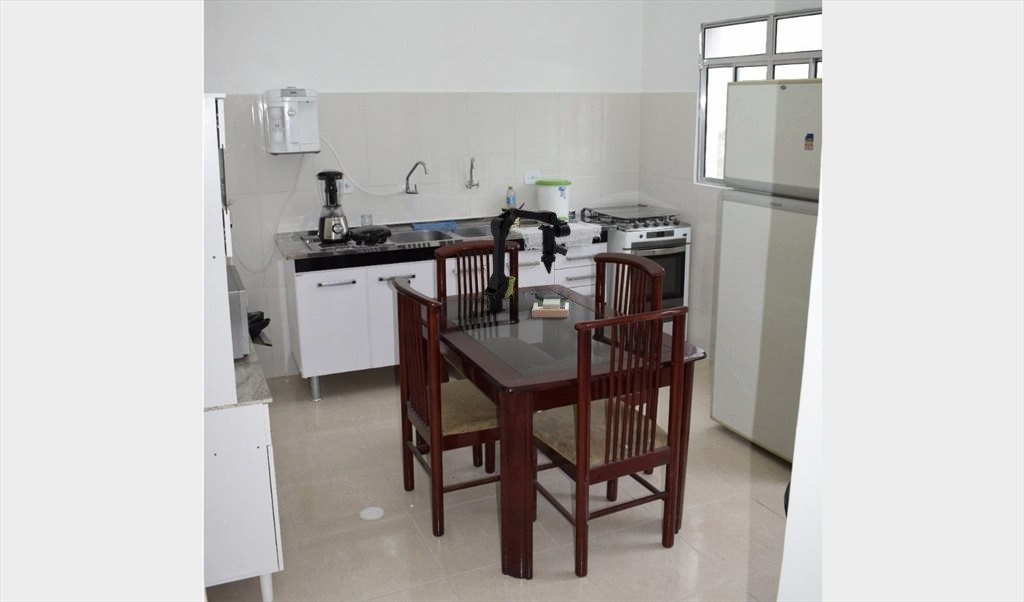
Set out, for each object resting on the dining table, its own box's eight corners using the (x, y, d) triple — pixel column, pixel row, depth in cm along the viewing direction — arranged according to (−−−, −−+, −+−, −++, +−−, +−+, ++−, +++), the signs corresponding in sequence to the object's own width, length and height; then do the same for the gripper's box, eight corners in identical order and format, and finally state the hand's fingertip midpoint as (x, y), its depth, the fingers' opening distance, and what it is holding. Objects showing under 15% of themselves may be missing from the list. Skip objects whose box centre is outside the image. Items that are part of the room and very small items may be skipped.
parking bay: (534, 307, 343) (534, 300, 342) (568, 307, 341) (568, 300, 341) (532, 317, 328) (531, 310, 327) (568, 317, 327) (567, 310, 326)
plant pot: (515, 299, 357) (515, 280, 354) (494, 299, 357) (494, 281, 355) (515, 293, 366) (515, 275, 363) (495, 294, 366) (494, 276, 364)
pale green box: (544, 307, 342) (543, 295, 340) (560, 307, 341) (560, 295, 340) (543, 313, 332) (542, 301, 331) (559, 313, 332) (559, 301, 330)
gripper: (566, 243, 338) (566, 278, 342) (567, 235, 356) (567, 268, 360) (540, 243, 339) (541, 278, 343) (542, 235, 357) (543, 268, 361)
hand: (549, 273), depth 351 cm, fingers closed
